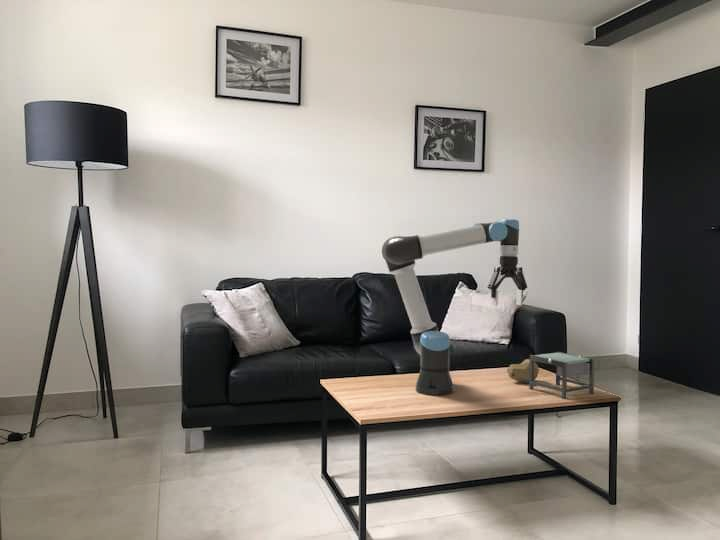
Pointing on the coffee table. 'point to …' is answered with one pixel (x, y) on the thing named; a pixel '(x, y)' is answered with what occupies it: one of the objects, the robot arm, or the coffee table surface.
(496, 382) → the coffee table surface
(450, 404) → the coffee table surface
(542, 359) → the stand
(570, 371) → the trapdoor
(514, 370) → the low-poly potato
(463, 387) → the coffee table surface
